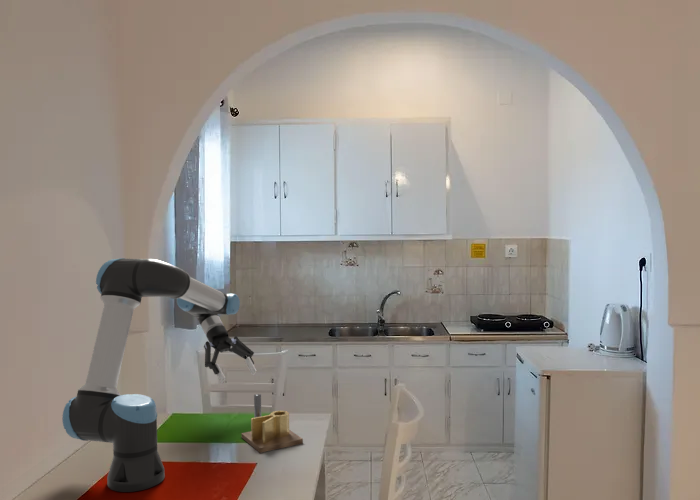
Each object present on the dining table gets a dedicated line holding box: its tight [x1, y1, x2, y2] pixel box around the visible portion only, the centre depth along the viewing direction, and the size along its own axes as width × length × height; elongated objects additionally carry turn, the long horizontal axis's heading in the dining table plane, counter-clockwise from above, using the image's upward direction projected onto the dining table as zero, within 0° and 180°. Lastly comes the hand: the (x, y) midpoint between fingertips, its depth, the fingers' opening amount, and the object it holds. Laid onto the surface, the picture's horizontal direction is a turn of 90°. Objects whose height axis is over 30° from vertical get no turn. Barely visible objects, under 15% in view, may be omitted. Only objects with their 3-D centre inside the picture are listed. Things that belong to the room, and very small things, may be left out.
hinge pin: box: [253, 393, 262, 418], centre depth 209 cm, size 2×2×12 cm
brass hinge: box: [250, 410, 290, 444], centre depth 196 cm, size 13×9×7 cm
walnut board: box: [240, 429, 304, 454], centre depth 198 cm, size 15×16×2 cm
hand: (239, 376), depth 216 cm, fingers open, 13 cm apart
